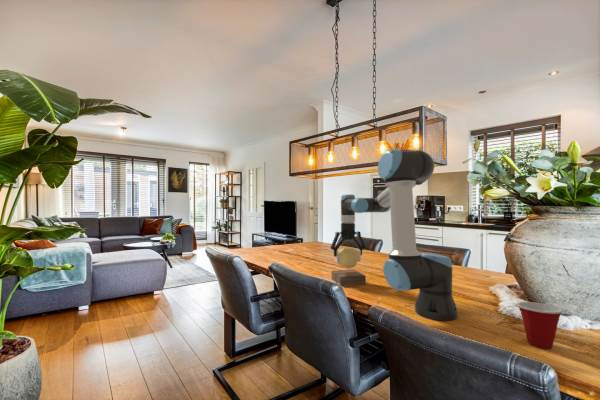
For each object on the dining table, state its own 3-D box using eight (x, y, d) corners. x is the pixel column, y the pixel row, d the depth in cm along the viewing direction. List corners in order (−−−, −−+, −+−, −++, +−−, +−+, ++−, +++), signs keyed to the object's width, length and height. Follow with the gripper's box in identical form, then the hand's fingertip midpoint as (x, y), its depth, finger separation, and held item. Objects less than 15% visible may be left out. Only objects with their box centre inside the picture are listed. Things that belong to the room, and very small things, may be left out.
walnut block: (365, 285, 150) (365, 275, 150) (340, 287, 147) (340, 277, 147) (354, 278, 164) (354, 269, 164) (331, 279, 161) (331, 270, 161)
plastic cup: (544, 336, 92) (544, 299, 92) (573, 354, 82) (573, 312, 82) (509, 335, 93) (508, 298, 93) (532, 352, 83) (532, 311, 83)
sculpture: (348, 270, 147) (348, 249, 147) (332, 265, 157) (332, 246, 157) (363, 267, 154) (363, 247, 154) (347, 263, 163) (347, 244, 164)
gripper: (365, 221, 162) (365, 259, 161) (324, 222, 157) (324, 261, 157) (371, 222, 154) (371, 262, 154) (328, 223, 149) (328, 264, 149)
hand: (348, 261), depth 155 cm, fingers closed on sculpture, 12 cm apart
